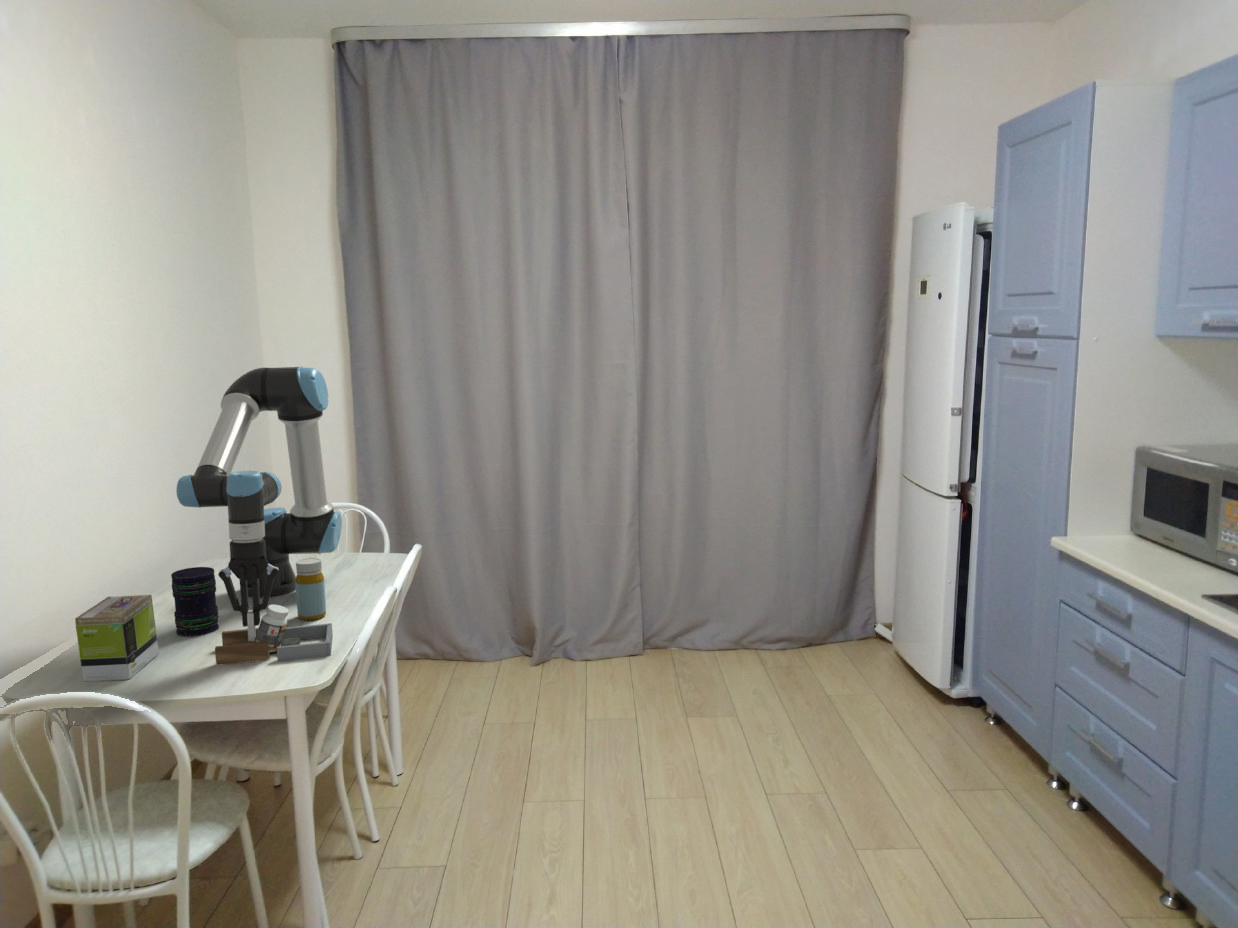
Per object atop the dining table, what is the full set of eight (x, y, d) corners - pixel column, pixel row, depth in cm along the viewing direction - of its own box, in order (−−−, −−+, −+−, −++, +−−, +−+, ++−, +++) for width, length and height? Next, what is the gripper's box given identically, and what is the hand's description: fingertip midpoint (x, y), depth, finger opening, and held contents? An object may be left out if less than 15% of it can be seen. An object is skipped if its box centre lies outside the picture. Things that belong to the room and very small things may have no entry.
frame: (282, 639, 212) (281, 627, 211) (332, 634, 215) (331, 623, 215) (277, 660, 199) (276, 648, 198) (330, 655, 202) (330, 642, 201)
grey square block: (282, 648, 207) (281, 638, 206) (300, 646, 208) (299, 636, 207) (280, 654, 203) (280, 644, 202) (299, 652, 204) (298, 642, 204)
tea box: (114, 656, 202) (108, 594, 200) (160, 654, 203) (154, 593, 201) (80, 682, 187) (73, 616, 185) (129, 680, 188) (123, 614, 186)
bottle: (317, 621, 225) (313, 565, 222) (292, 620, 226) (288, 563, 224) (331, 613, 231) (327, 558, 229) (307, 611, 233) (303, 556, 230)
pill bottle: (279, 654, 203) (293, 615, 202) (254, 651, 200) (267, 611, 199) (276, 643, 208) (288, 605, 207) (251, 640, 205) (264, 601, 204)
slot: (223, 647, 207) (222, 631, 206) (273, 642, 210) (272, 626, 209) (216, 665, 196) (214, 648, 196) (268, 659, 199) (267, 642, 199)
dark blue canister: (211, 620, 226) (206, 564, 224) (225, 629, 219) (221, 572, 217) (170, 630, 219) (164, 572, 217) (183, 639, 212) (178, 580, 210)
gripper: (213, 544, 194) (219, 646, 197) (275, 541, 197) (280, 642, 201) (219, 537, 201) (224, 635, 204) (279, 534, 205) (283, 631, 208)
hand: (252, 638), depth 203 cm, fingers closed
